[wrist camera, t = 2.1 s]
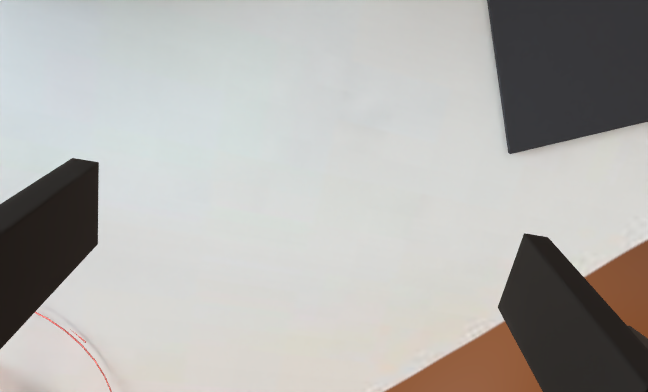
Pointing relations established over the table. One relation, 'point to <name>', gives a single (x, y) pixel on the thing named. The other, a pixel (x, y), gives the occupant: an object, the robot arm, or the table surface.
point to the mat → (569, 67)
